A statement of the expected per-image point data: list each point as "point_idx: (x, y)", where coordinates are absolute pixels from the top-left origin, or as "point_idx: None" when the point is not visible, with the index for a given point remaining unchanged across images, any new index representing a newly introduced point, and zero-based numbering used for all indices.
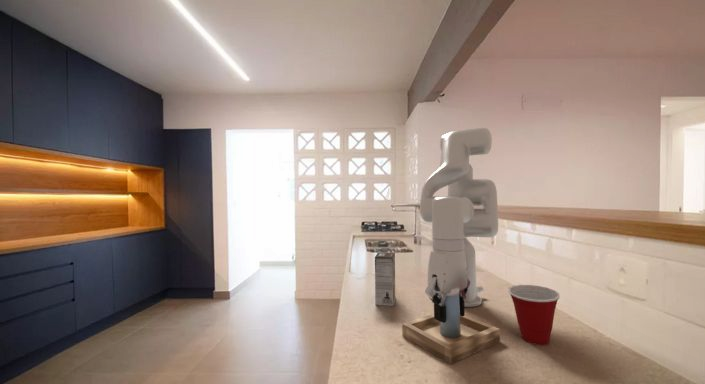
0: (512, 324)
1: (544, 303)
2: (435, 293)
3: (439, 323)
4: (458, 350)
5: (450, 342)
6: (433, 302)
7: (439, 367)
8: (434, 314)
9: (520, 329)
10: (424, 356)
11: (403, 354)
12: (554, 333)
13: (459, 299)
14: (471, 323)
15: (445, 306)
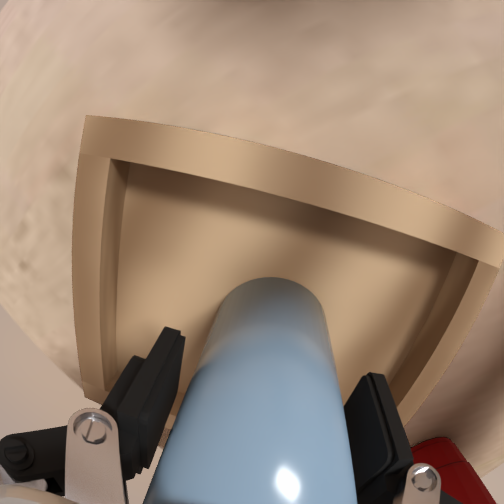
0: (500, 395)
1: None
2: (73, 500)
3: (226, 314)
4: None
5: (186, 355)
6: (75, 425)
7: (70, 346)
8: (154, 344)
9: (423, 462)
10: (70, 290)
11: (29, 228)
12: (468, 455)
13: (360, 495)
14: (406, 377)
15: (140, 471)
